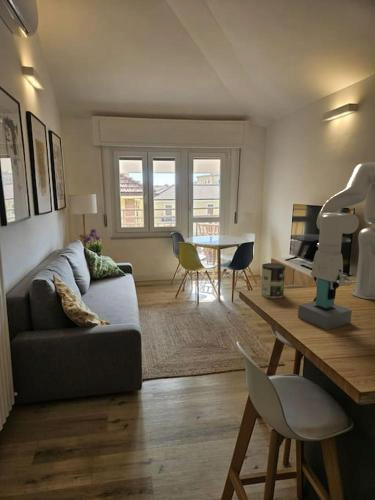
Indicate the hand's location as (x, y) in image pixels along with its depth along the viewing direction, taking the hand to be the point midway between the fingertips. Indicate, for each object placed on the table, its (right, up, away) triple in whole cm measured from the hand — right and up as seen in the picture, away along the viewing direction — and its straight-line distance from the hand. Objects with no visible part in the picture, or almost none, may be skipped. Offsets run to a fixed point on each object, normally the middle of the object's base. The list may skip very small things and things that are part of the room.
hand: (325, 296), depth 119 cm
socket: (0, -9, +2) cm, 9 cm away
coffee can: (-12, -4, +31) cm, 33 cm away
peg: (0, -3, +1) cm, 3 cm away
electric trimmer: (+9, -5, +25) cm, 27 cm away
